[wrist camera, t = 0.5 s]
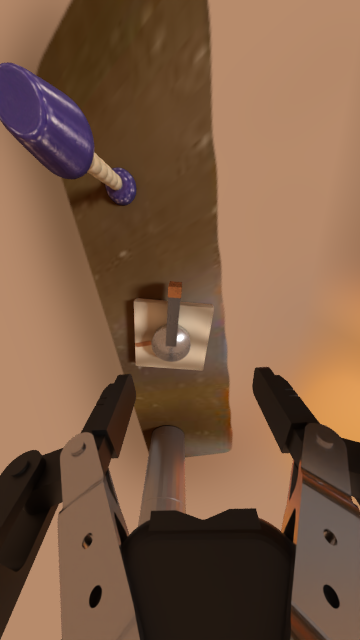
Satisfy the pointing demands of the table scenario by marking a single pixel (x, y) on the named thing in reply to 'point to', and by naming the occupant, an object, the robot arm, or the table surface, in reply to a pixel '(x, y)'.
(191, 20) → the table surface
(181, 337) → the orange-tipped lever
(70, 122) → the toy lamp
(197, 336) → the board
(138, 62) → the table surface
